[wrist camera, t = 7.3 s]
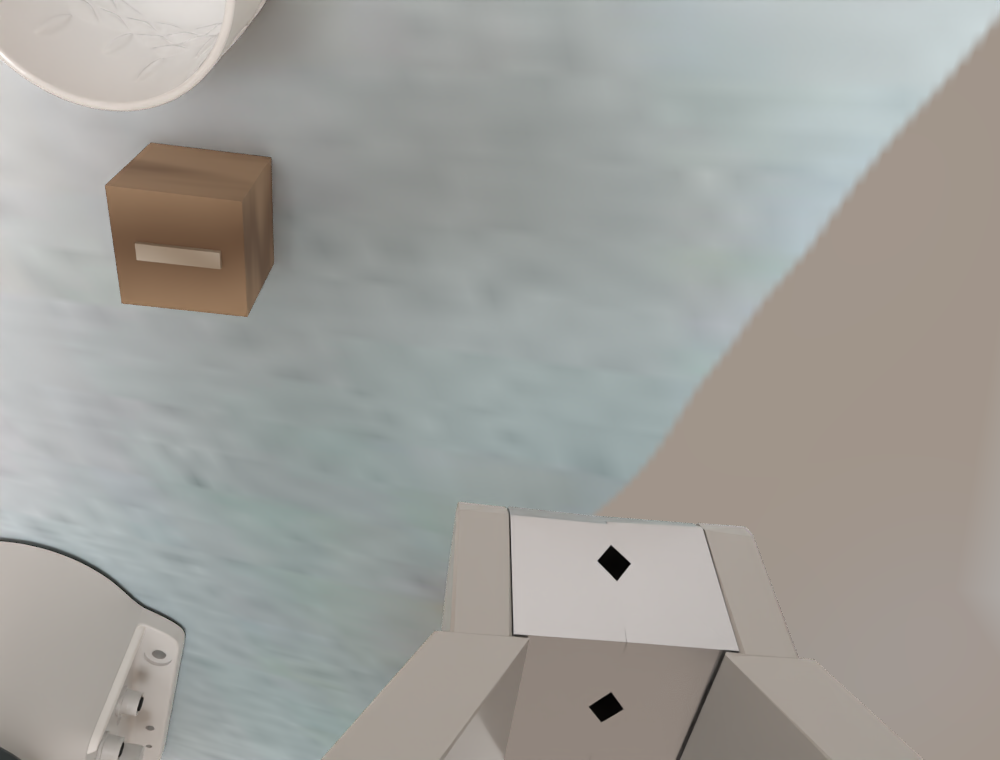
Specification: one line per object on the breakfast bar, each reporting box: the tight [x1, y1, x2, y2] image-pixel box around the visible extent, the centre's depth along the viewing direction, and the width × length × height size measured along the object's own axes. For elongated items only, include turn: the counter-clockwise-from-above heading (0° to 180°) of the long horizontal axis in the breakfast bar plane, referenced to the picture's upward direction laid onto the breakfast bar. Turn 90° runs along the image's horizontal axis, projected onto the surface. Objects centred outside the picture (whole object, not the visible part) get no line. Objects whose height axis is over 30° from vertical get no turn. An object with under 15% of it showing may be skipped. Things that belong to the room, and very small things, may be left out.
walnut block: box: [105, 143, 274, 317], centre depth 34 cm, size 5×5×5 cm
